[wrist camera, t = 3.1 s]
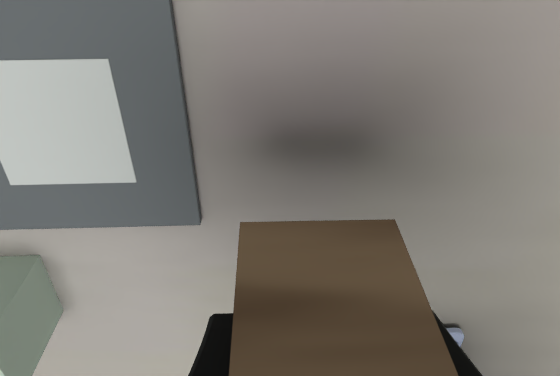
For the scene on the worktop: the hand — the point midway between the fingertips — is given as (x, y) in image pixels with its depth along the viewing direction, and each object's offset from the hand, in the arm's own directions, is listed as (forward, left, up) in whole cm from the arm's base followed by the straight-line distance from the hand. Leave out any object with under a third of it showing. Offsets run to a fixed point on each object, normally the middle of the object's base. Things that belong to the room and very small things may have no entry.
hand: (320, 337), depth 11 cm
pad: (+2, +9, -9) cm, 13 cm away
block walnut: (0, 0, -2) cm, 2 cm away
